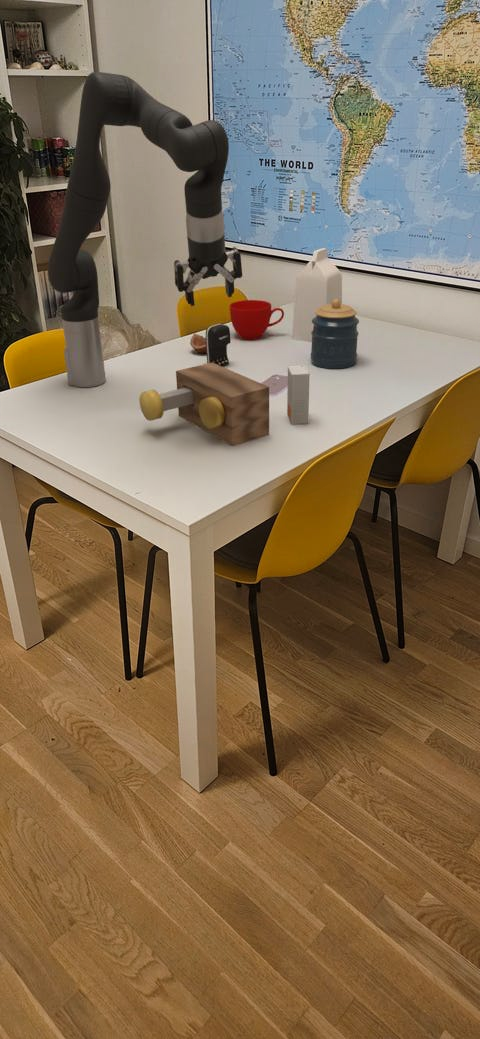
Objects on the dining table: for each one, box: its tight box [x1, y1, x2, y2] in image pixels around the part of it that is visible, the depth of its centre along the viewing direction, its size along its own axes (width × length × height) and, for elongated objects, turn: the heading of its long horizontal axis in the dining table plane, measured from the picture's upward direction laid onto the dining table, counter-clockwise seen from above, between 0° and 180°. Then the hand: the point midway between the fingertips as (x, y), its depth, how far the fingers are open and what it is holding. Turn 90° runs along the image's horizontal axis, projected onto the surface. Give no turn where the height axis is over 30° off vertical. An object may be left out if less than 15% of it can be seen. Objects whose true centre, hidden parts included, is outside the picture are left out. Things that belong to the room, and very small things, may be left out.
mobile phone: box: [260, 374, 288, 398], centre depth 186 cm, size 8×1×15 cm
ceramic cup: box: [229, 299, 285, 341], centre depth 224 cm, size 13×17×10 cm
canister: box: [310, 299, 360, 370], centre depth 198 cm, size 13×13×18 cm
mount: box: [175, 362, 270, 447], centre depth 161 cm, size 13×22×11 cm, turn 36°
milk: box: [291, 247, 343, 343], centre depth 219 cm, size 12×12×26 cm
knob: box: [139, 387, 194, 422], centre depth 161 cm, size 15×6×6 cm, turn 126°
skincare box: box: [286, 365, 310, 425], centre depth 163 cm, size 6×4×12 cm
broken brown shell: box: [189, 333, 207, 354], centre depth 212 cm, size 8×7×5 cm
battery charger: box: [205, 323, 231, 367], centre depth 198 cm, size 7×4×11 cm, turn 138°
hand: (210, 299), depth 155 cm, fingers open, 8 cm apart
